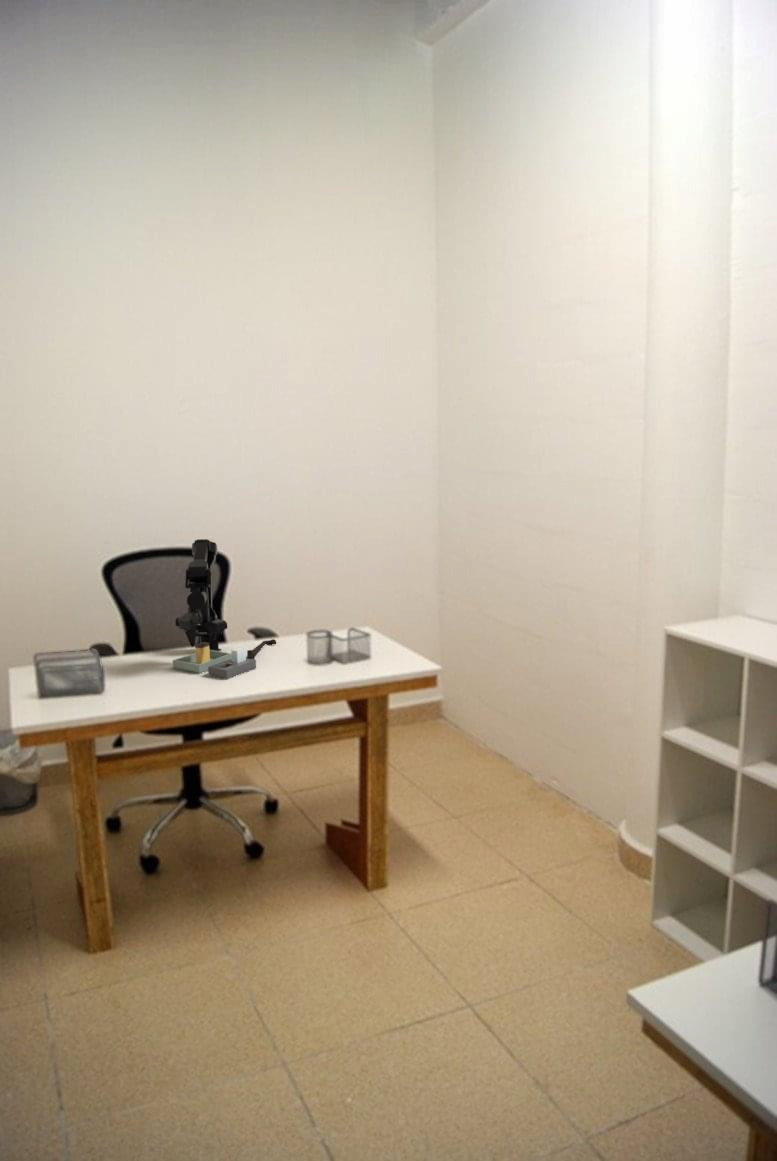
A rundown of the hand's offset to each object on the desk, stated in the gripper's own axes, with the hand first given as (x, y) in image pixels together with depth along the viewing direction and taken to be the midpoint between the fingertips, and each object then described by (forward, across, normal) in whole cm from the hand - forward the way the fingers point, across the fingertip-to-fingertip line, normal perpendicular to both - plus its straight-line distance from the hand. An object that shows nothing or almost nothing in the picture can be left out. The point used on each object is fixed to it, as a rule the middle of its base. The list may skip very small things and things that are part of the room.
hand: (202, 648), depth 298 cm
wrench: (+7, +8, +20) cm, 23 cm away
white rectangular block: (+6, +14, +2) cm, 15 cm away
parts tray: (+6, 0, 0) cm, 6 cm away
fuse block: (+6, +14, -1) cm, 15 cm away
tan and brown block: (+5, 0, 0) cm, 5 cm away
